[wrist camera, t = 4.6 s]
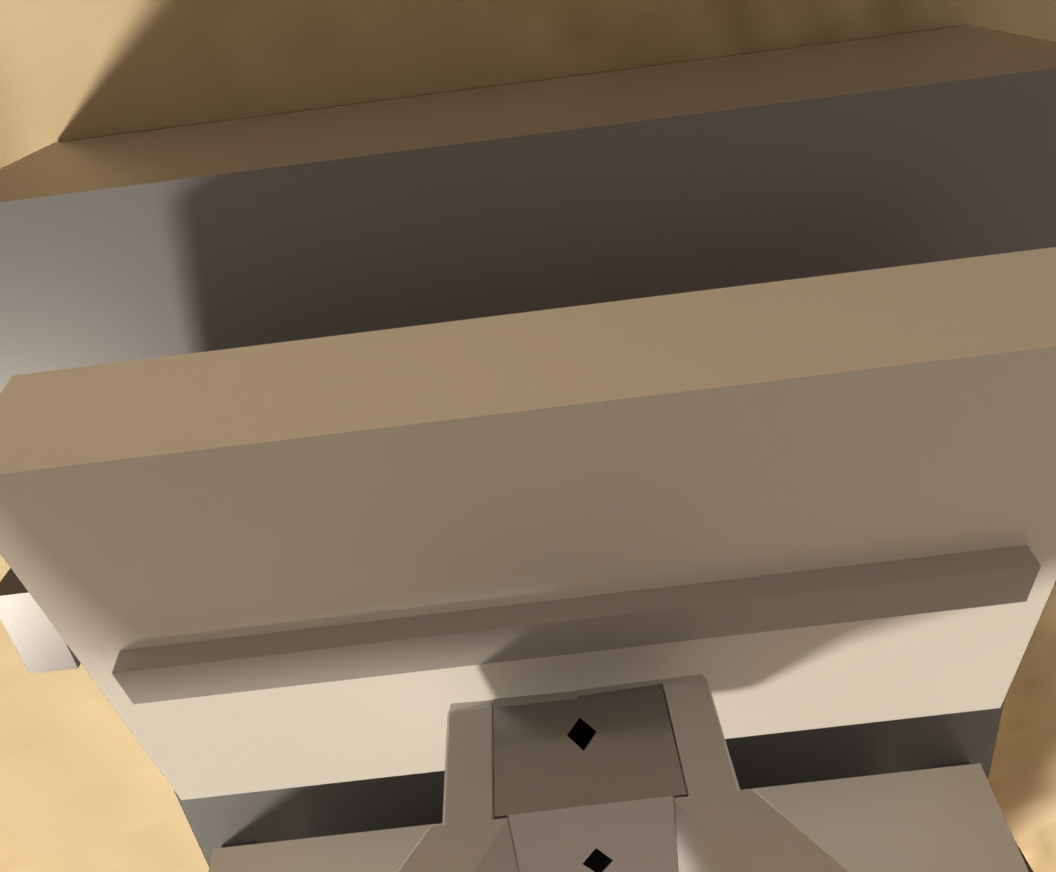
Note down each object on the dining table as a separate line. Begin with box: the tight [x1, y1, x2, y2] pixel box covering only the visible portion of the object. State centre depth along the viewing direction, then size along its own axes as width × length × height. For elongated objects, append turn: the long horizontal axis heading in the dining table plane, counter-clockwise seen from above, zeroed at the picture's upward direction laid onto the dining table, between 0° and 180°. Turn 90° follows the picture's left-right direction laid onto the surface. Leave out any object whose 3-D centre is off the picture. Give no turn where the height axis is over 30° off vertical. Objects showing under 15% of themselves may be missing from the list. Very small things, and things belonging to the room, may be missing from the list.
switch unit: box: [0, 25, 1056, 872], centre depth 17 cm, size 24×14×6 cm, turn 7°
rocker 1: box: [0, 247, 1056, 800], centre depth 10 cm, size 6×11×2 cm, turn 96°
